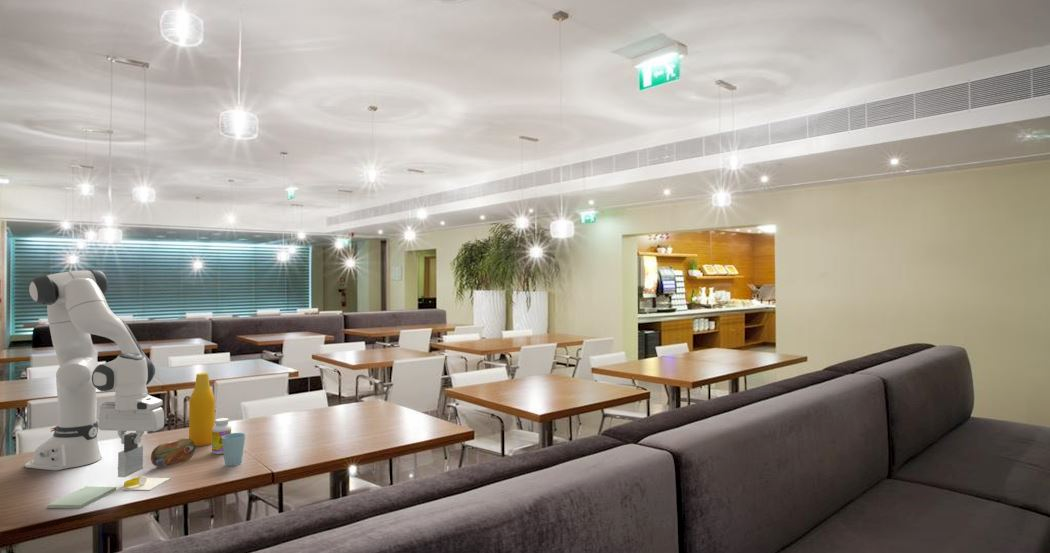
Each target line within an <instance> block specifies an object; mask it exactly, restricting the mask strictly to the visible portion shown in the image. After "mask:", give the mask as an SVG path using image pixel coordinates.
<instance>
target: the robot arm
mask: <svg viewBox="0 0 1050 553" xmlns="http://www.w3.org/2000/svg"><path fill="white" fill-rule="evenodd" d="M32 278H33V279H32V280H31V281H30V282H29V288H28V289H29V290H28V291H29V295H30V297H31V299H32V300H33V302H34V303H35V304H38V305H41V306H46V307H47V308H46V310H47V312H46V314H47V322H48V326H49V332H50V333H49V334H50V336H51V342H52V346H53V348H54V351H55V353H56V357H57V360H58V363H59V367H58V368H57V370H56V375H55V380H56V381H55V382H56V396H57V408H58V410H57V413H58V414H57V416H58V419H57V424H58V425H56V426H55V427H53V428H52V427H51V428H50V432H51V433H52V432H54V433H53V435H52V436H51V437H50V438H48V439H47V440H46V441H45V442H43V443H42V444H40V445H39V446H37V447H36V448H35V450H34V455H33V459H32V460H30V461H27V462H26V463H25V465H24V468H29V469H37V470H46V471H47V470H48V471H61V470H66V469H69V468H77V467H82V466H86V465H90V464H93V463H96V462H98V461H100V460H101V459H102V454H101V452H100V451H101V450H100V446H99V442H98V432H99V430H100V431H116V432H117V435H118V437H119V438H120V439H121V440H120V441H121V442H120V443H121V444H122V445H124V435H126V434H127V432H135V433H136V434H137V436H136V438H134V439H133V444H138V445H140V444H141V440H142V439H141V438H142V437H143V435H144V433H145V432H157V431H160V430H162V429H164V428H163V427H164V426H165V413H164V411H165V410H164V409H163V407H161V406H163V404H164V403H163V400H162V399H161V398H158V397H155V396H152V395H150V394H149V393H148V388H147V385H149V384H150V382H151V381H152V380H153V379H154V377H155V374H156V368H155V365H154V364H153V362H152V360H151V359H150V358H149V357H148V356H147V355H146V353H145V352H144V350H143V349H142V347H141V345H140V343H139V342H138V340H137V338H136V337H135V334H133V332H132V330H131V329H130V327H129V325H128V324H127V323H126V321H125V320H123V319H121V318H119V317H118V316H117V315H116V314H115V313H114V312H113V310H111V308H110V307H109V306H110V305H109V303H108V302H107V300H106V297H105V294H106V293H107V292H108V291H109V281H108V278H107V276H106V274H105V273H104V272H103V271H101V270H98V269H88V270H69V271H67V270H66V271H65V272H64V271H63V272H59V273H58V272H57V273H53V274H42V275H39V276H36V277H32ZM92 335H95V336H98V337H103V338H106V339H109V340H111V341H113V342H114V343H115V344H116V345H117V347H118V348H119V350H120V352H121V354H119V355H117V357H116V358H114V359H113V360H111V361H108V362H104V363H101V364H99V362H98V358H97V355H96V350H95V347H94V343H93V340H92ZM97 390H99V391H101V392H112V391H115V392H114V401H104V402H103V403H102V404H101V405H100V406H99V416H98V420H97V411H98V410H97V409H98V408H97V407H98V406H97V404H98V403H97Z"/></svg>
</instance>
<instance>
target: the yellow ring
mask: <svg viewBox="0 0 1050 553" xmlns="http://www.w3.org/2000/svg"><path fill="white" fill-rule="evenodd" d="M146 478H147V476H146V475H142V476H136V477H134V478H130V479H129V480H126V481H124V483H123V485H124V488H126V487H130V486H134V485H138V484H139V485H144V484H145V483H146V481H147V479H146Z"/></svg>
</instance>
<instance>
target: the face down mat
mask: <svg viewBox="0 0 1050 553" xmlns="http://www.w3.org/2000/svg"><path fill="white" fill-rule="evenodd" d="M146 479H147V481H146V483H145V484H144V485H139V484H138V485H134V486H130V487H124V488H122V489H121V490H122V491H144V492H145V491H151V490H153V489H155V488H157V487H159V486H160V485H162V484H165V483H166V482H167V481H170V480H171V478H170V477H146Z"/></svg>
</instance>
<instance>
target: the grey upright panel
mask: <svg viewBox="0 0 1050 553" xmlns="http://www.w3.org/2000/svg"><path fill="white" fill-rule="evenodd" d="M125 434H126V435H124V444H123V450H122V451H119V452H118V455H117V457H118V458H117V478H127V477H128V476H132V475H133V474H135V473H137V472H139V471H141V470H143V469H144V466H143V465H144V464H143V463H144V445H142V444H133V439H134V438H136V436H137V434H136V432H130V433H125Z"/></svg>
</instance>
